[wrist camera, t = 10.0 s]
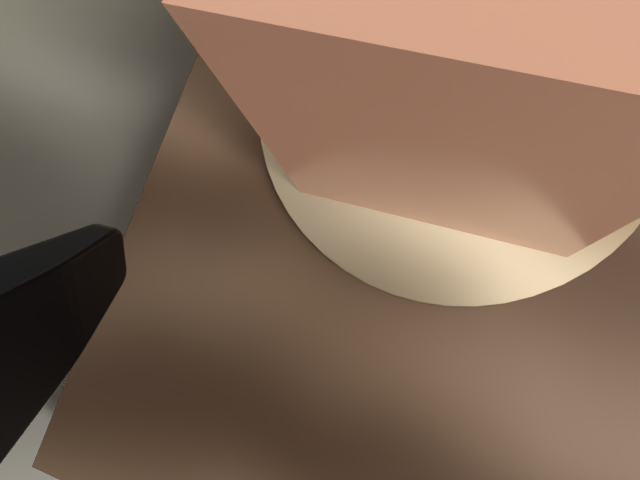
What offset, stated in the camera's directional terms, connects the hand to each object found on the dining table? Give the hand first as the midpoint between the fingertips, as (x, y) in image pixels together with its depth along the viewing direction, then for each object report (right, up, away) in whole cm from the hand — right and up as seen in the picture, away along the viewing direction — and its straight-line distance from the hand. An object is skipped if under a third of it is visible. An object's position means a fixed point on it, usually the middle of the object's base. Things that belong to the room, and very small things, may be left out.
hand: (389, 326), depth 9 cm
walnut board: (+8, -1, +7) cm, 11 cm away
